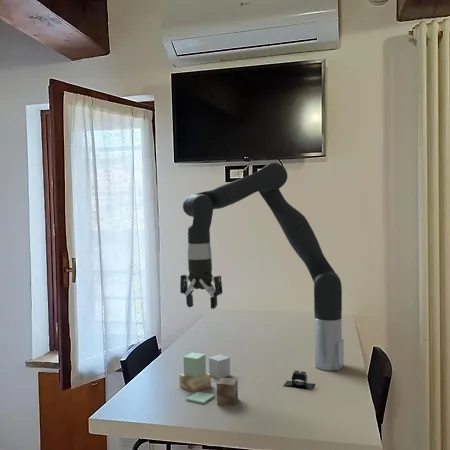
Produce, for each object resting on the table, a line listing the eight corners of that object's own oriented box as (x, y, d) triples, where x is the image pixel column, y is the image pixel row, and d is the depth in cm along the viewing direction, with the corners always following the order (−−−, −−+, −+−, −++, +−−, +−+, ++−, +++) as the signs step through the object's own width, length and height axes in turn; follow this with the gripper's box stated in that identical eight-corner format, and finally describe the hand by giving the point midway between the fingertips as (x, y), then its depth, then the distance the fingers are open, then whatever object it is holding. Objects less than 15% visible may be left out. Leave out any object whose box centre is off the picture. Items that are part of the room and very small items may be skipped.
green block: (205, 372, 157) (205, 354, 156) (197, 378, 152) (197, 358, 152) (192, 370, 159) (192, 352, 159) (184, 375, 155) (183, 356, 154)
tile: (214, 396, 146) (214, 394, 146) (204, 404, 141) (203, 402, 141) (197, 393, 149) (197, 391, 149) (186, 400, 144) (186, 398, 144)
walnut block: (237, 398, 145) (237, 378, 145) (234, 405, 140) (233, 384, 140) (221, 397, 146) (221, 377, 146) (217, 404, 141) (216, 383, 141)
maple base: (210, 386, 156) (210, 374, 155) (194, 392, 151) (193, 380, 151) (196, 381, 161) (196, 369, 160) (179, 387, 156) (179, 374, 156)
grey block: (230, 375, 165) (229, 357, 165) (218, 378, 162) (218, 361, 161) (220, 371, 169) (220, 354, 168) (209, 375, 165) (208, 357, 165)
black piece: (321, 385, 156) (321, 371, 156) (317, 393, 149) (316, 378, 149) (283, 380, 160) (283, 367, 160) (277, 388, 153) (277, 374, 153)
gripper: (224, 256, 157) (226, 306, 158) (187, 255, 164) (189, 304, 164) (213, 259, 150) (215, 311, 151) (174, 258, 157) (176, 308, 158)
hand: (201, 307), depth 158 cm, fingers open, 8 cm apart
